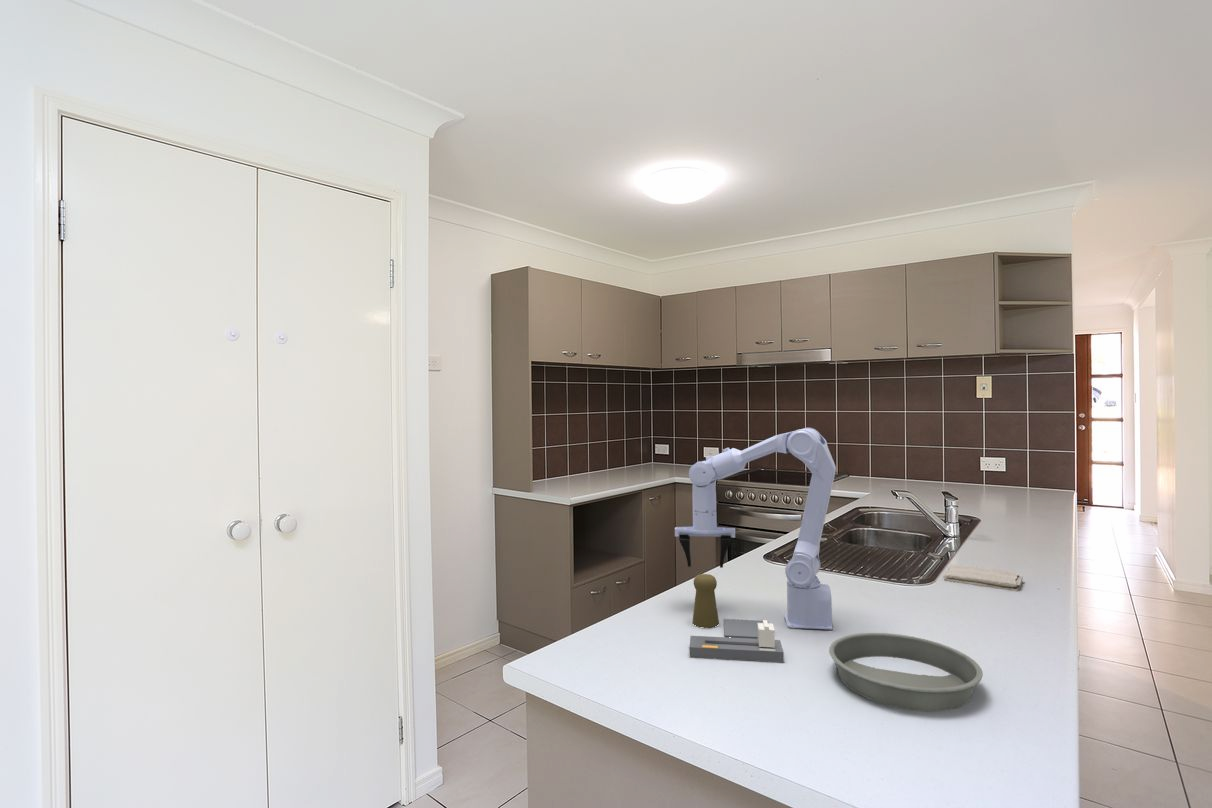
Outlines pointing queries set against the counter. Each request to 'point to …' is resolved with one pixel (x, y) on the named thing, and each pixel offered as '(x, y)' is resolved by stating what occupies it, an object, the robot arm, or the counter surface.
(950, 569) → the washcloth
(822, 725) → the counter surface
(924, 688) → the cake pan
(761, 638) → the switch tab
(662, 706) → the counter surface
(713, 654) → the switch bar
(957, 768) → the counter surface
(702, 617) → the cork
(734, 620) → the slate mat
